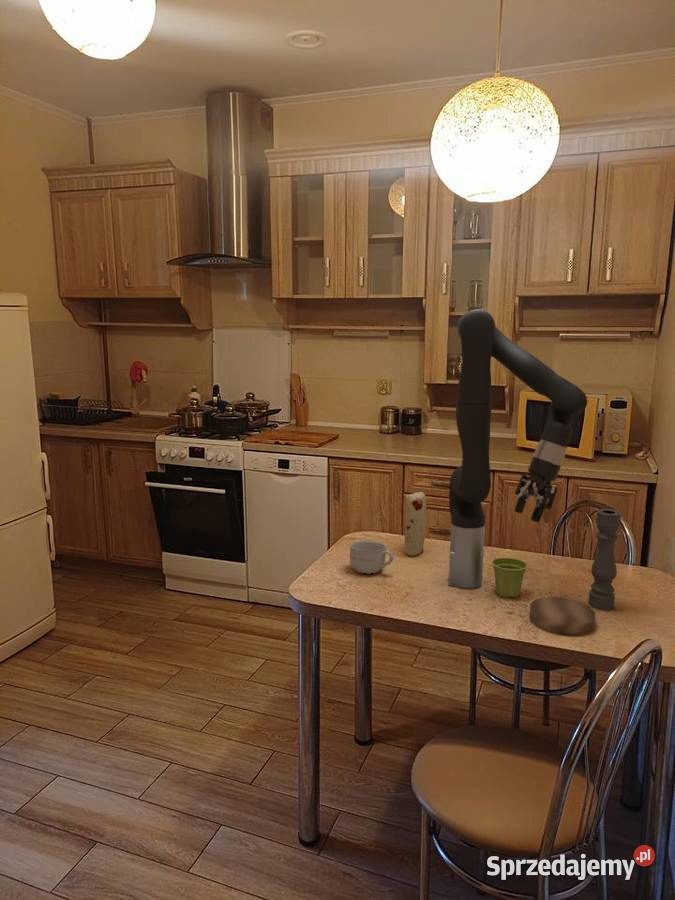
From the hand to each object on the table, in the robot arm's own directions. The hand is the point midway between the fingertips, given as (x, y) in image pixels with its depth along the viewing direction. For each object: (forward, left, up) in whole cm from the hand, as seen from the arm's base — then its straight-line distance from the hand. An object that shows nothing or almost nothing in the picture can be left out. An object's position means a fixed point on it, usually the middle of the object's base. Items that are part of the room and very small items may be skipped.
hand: (526, 516), depth 167 cm
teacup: (-42, +7, -21) cm, 48 cm away
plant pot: (-4, -3, -21) cm, 22 cm away
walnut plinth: (+7, -18, -21) cm, 28 cm away
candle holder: (+19, -7, -21) cm, 29 cm away
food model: (-30, +25, -21) cm, 45 cm away
